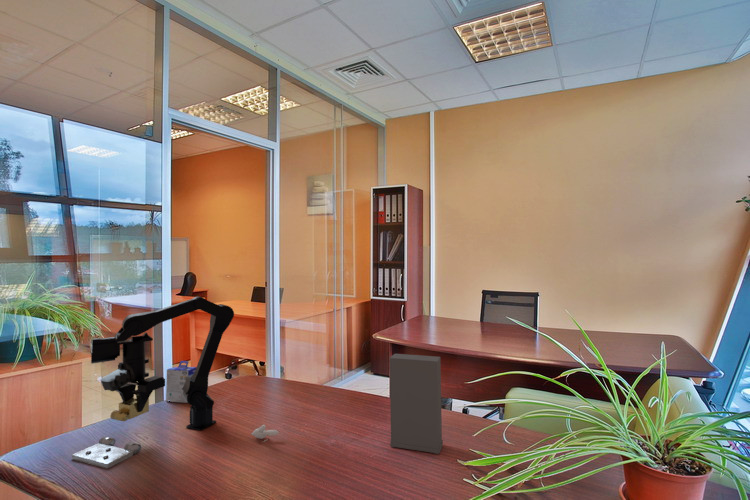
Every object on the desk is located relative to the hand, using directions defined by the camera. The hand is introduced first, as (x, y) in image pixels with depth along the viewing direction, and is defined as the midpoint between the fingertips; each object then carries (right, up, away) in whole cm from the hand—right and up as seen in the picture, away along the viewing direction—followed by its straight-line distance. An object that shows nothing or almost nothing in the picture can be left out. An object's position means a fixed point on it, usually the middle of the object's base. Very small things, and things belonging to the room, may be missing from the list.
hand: (134, 410), depth 112 cm
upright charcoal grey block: (+83, -8, -5) cm, 83 cm away
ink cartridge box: (-3, -10, +34) cm, 35 cm away
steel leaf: (-3, -9, -8) cm, 12 cm away
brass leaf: (0, -1, -1) cm, 2 cm away
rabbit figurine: (+39, -9, 0) cm, 40 cm away
